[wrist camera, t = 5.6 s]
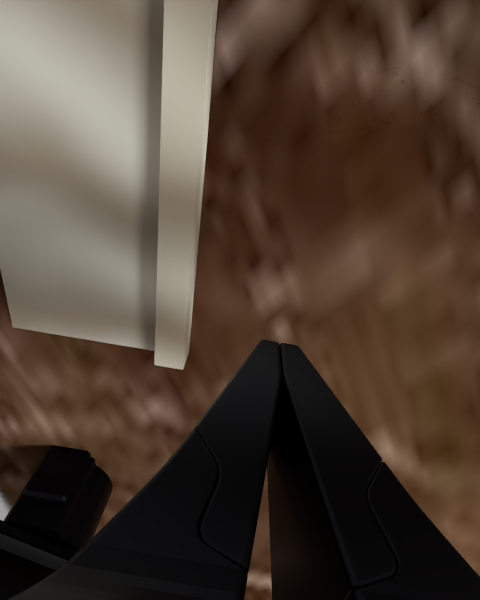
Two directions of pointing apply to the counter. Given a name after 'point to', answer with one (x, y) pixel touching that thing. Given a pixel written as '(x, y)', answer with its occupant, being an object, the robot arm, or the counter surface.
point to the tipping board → (104, 166)
